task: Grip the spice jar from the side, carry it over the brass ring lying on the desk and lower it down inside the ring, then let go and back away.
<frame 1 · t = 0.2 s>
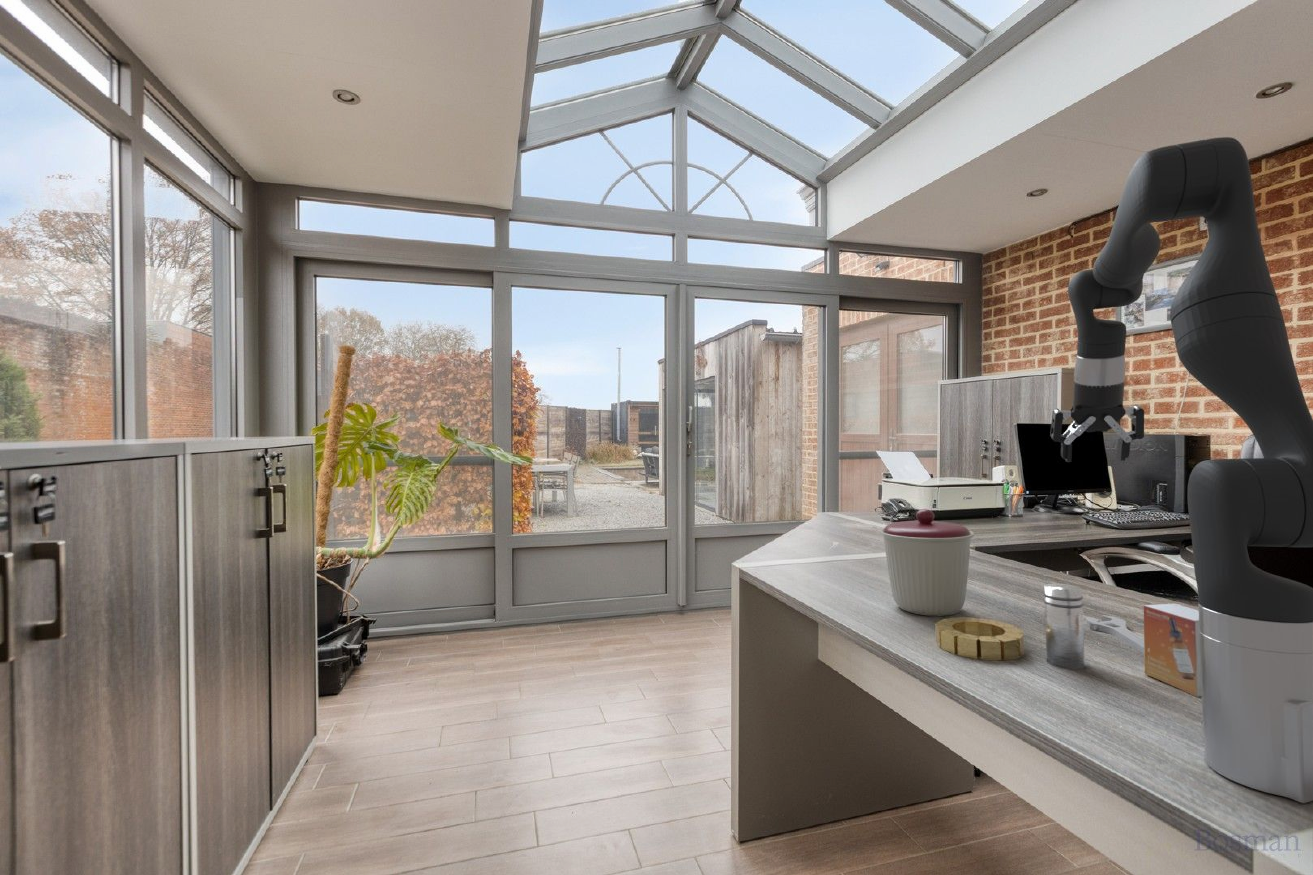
hand: (1094, 460, 115), 31 cm above the table, tool tilted 20°, fingers open, 8 cm apart
adjustable wrench: (1129, 646, 103), on the table
small box: (1187, 685, 85), on the table
spice jar: (1065, 663, 95), on the table
canister: (928, 610, 126), on the table
ring: (978, 646, 103), on the table
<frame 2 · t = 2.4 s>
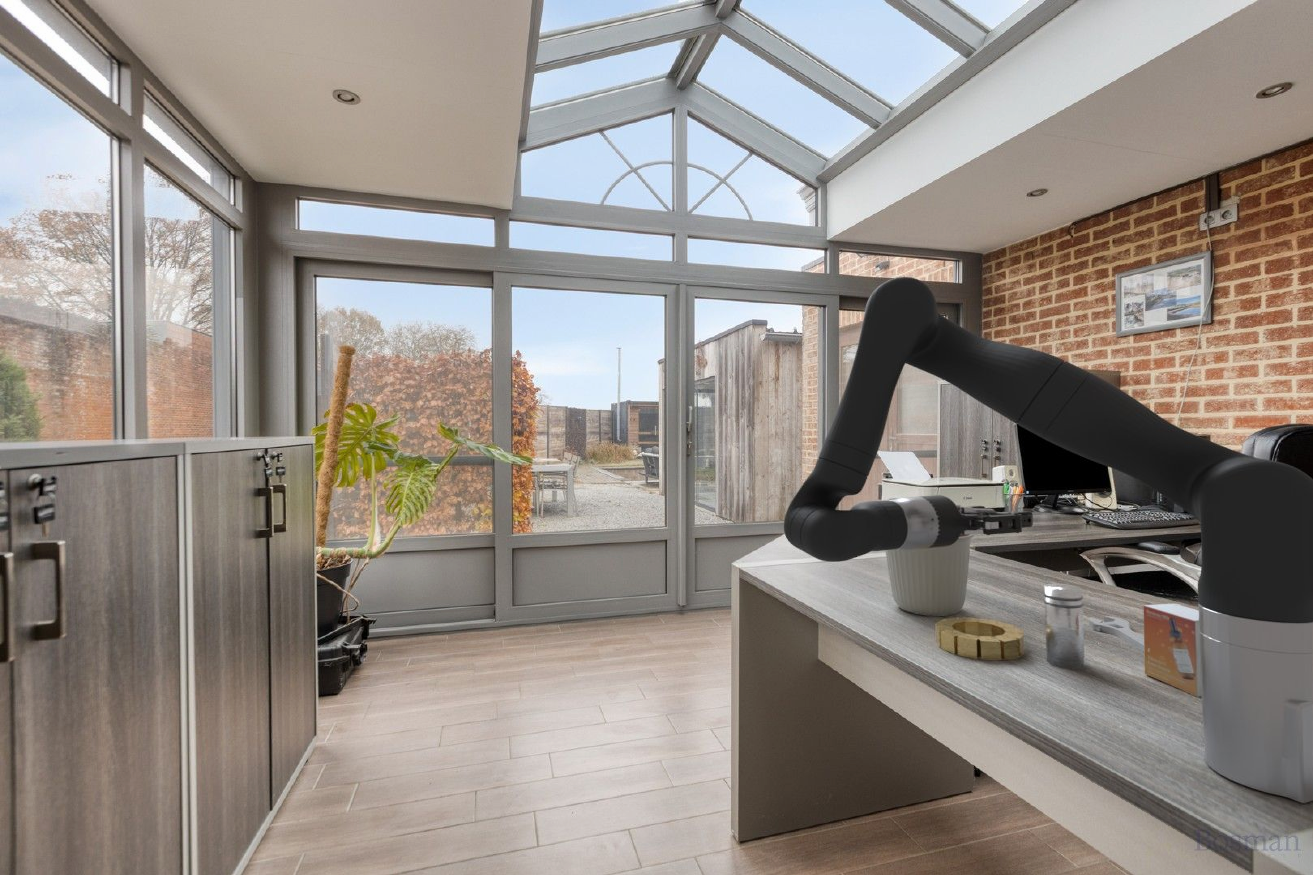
hand: (1006, 515, 92), 24 cm above the table, tool horizontal, fingers open, 8 cm apart
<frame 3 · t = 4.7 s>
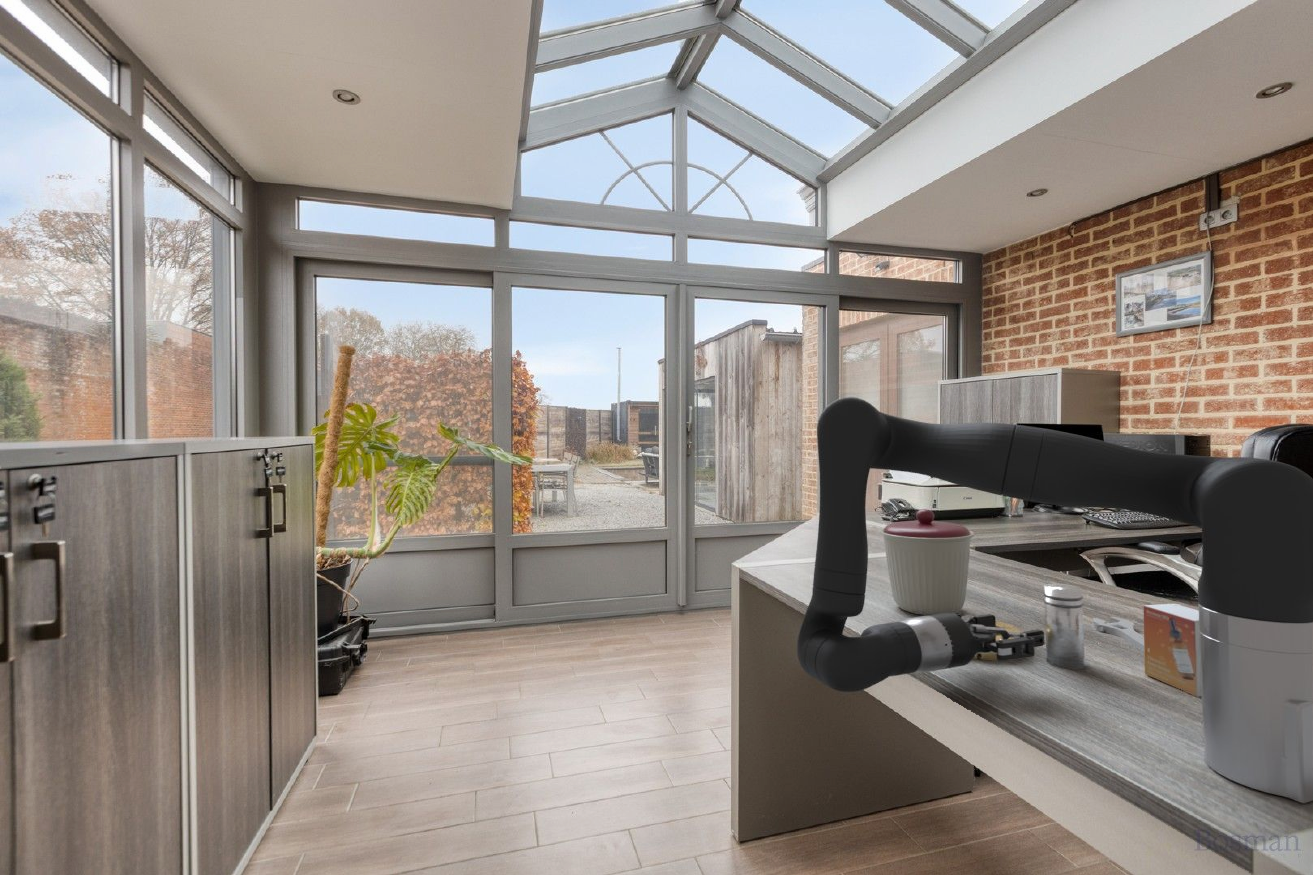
hand: (1016, 628, 92), 7 cm above the table, tool horizontal, fingers open, 8 cm apart
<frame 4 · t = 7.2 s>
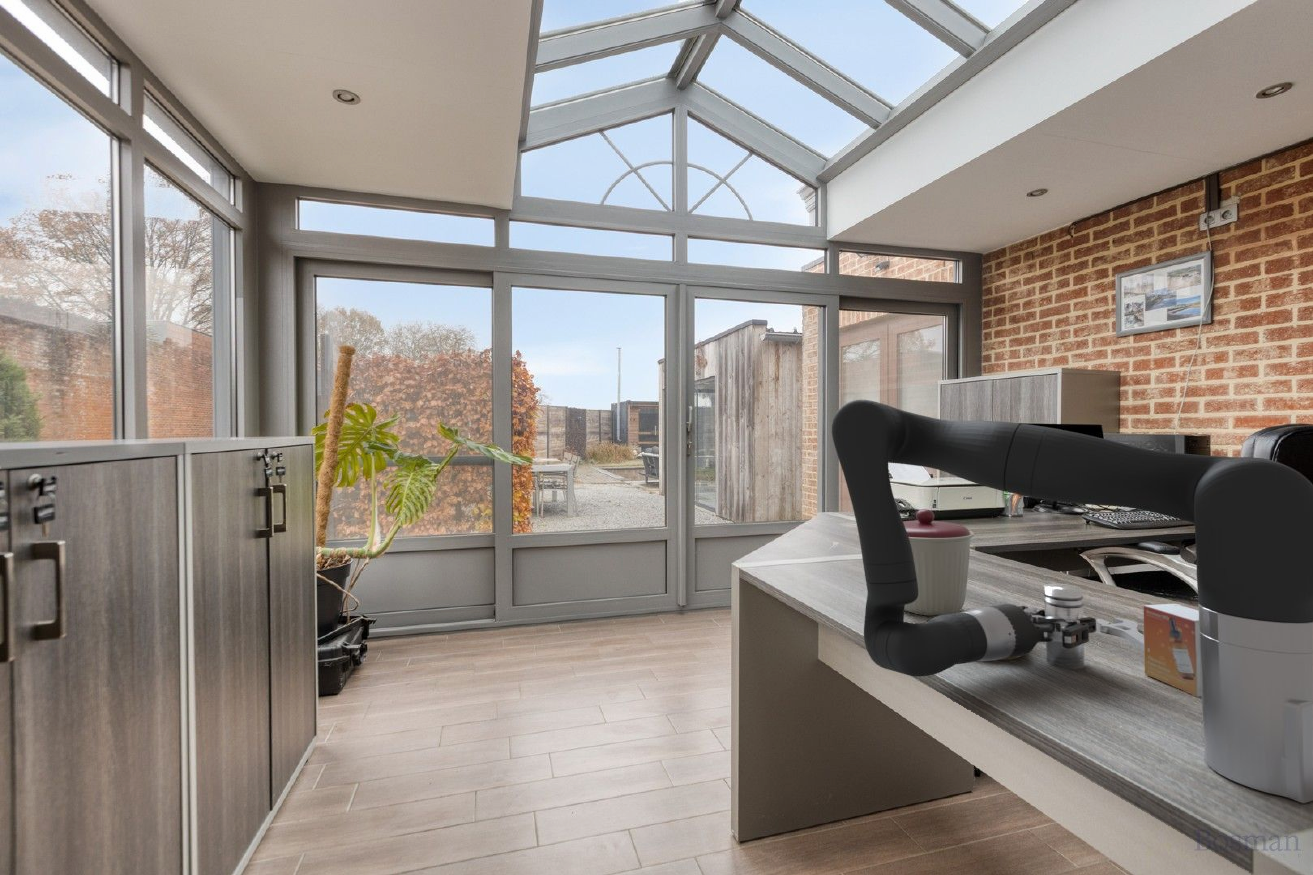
hand: (1075, 619, 95), 7 cm above the table, tool horizontal, fingers closed on spice jar, 5 cm apart
spice jar: (1065, 663, 95), on the table, touching gripper
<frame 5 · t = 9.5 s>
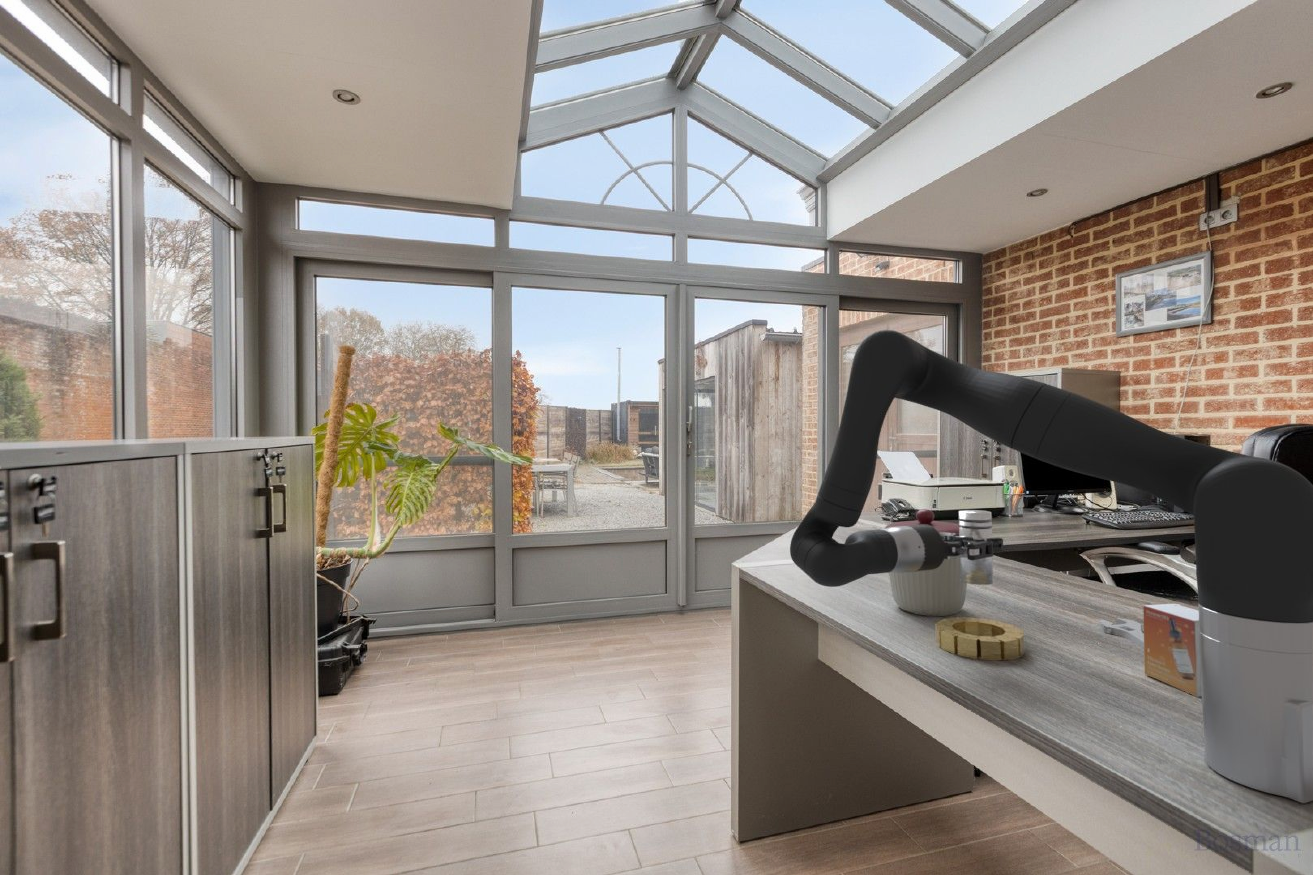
hand: (987, 541, 104), 18 cm above the table, tool horizontal, fingers closed on spice jar, 5 cm apart
spice jar: (976, 581, 103), point 11 cm above the table, touching gripper
when the fingers open (8 cm above the table, at t = 11.8 s): spice jar drops 1 cm, resting in ring.
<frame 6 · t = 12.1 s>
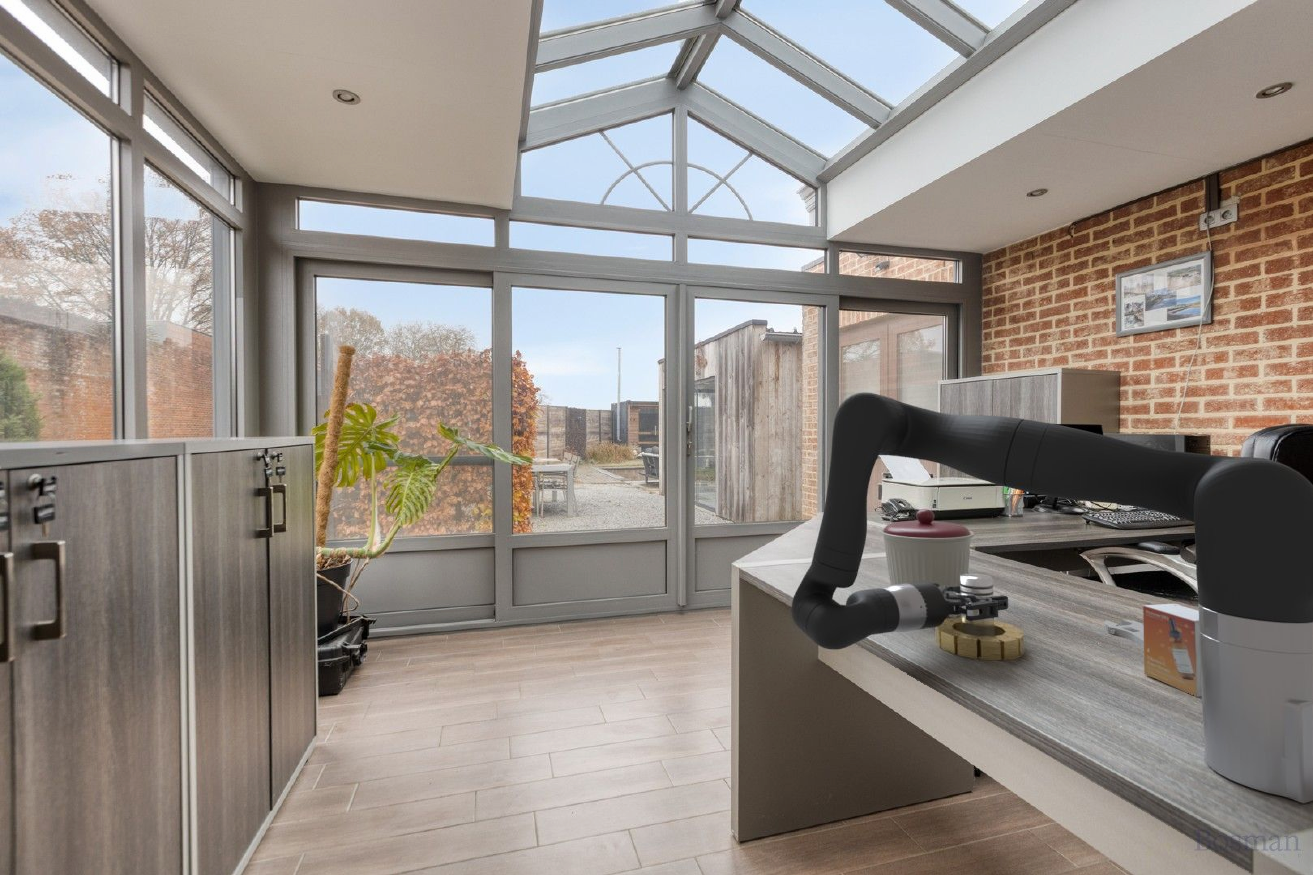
hand: (986, 596, 104), 8 cm above the table, tool horizontal, fingers open, 7 cm apart
spice jar: (978, 646, 103), resting in ring
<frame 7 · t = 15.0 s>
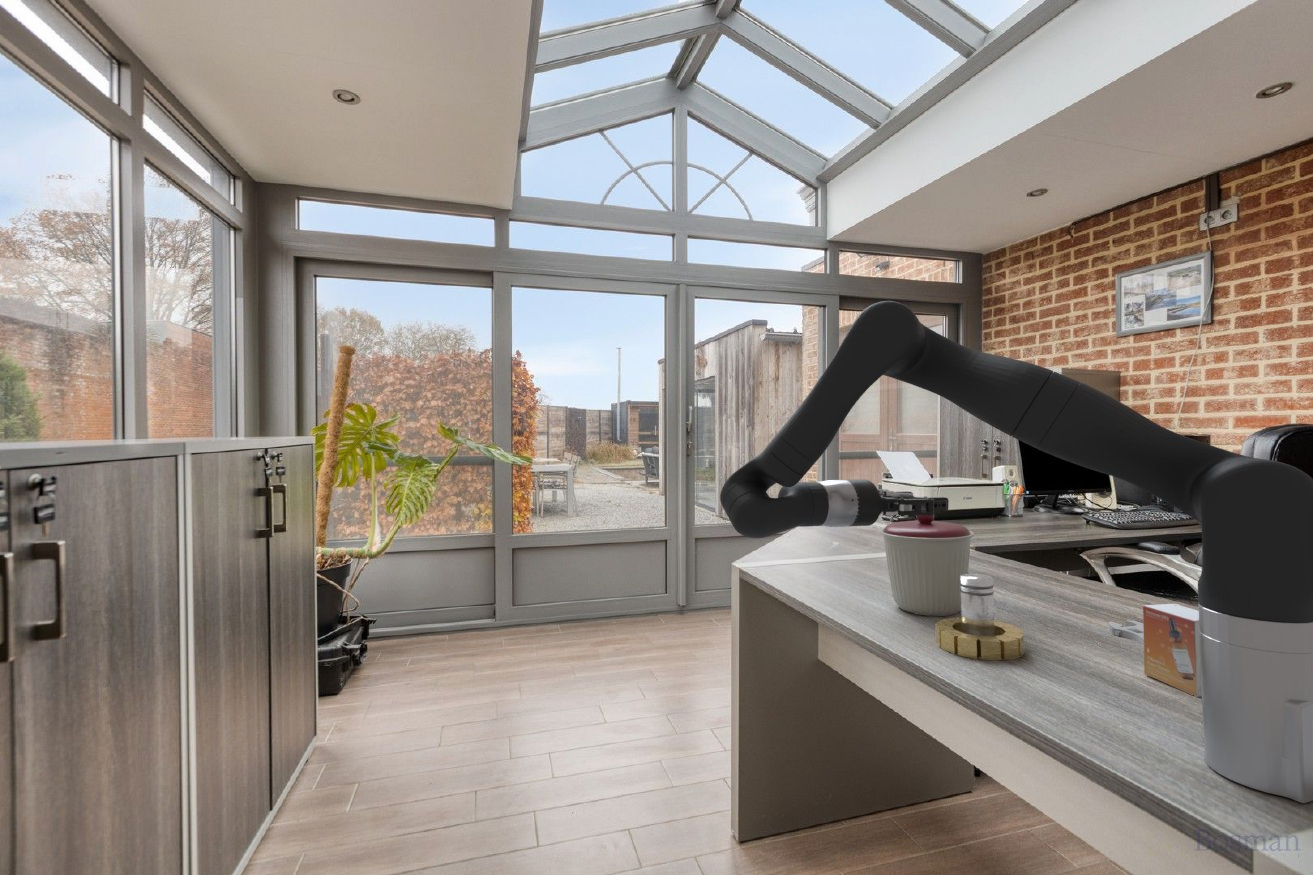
hand: (928, 500, 100), 26 cm above the table, tool horizontal, fingers open, 8 cm apart
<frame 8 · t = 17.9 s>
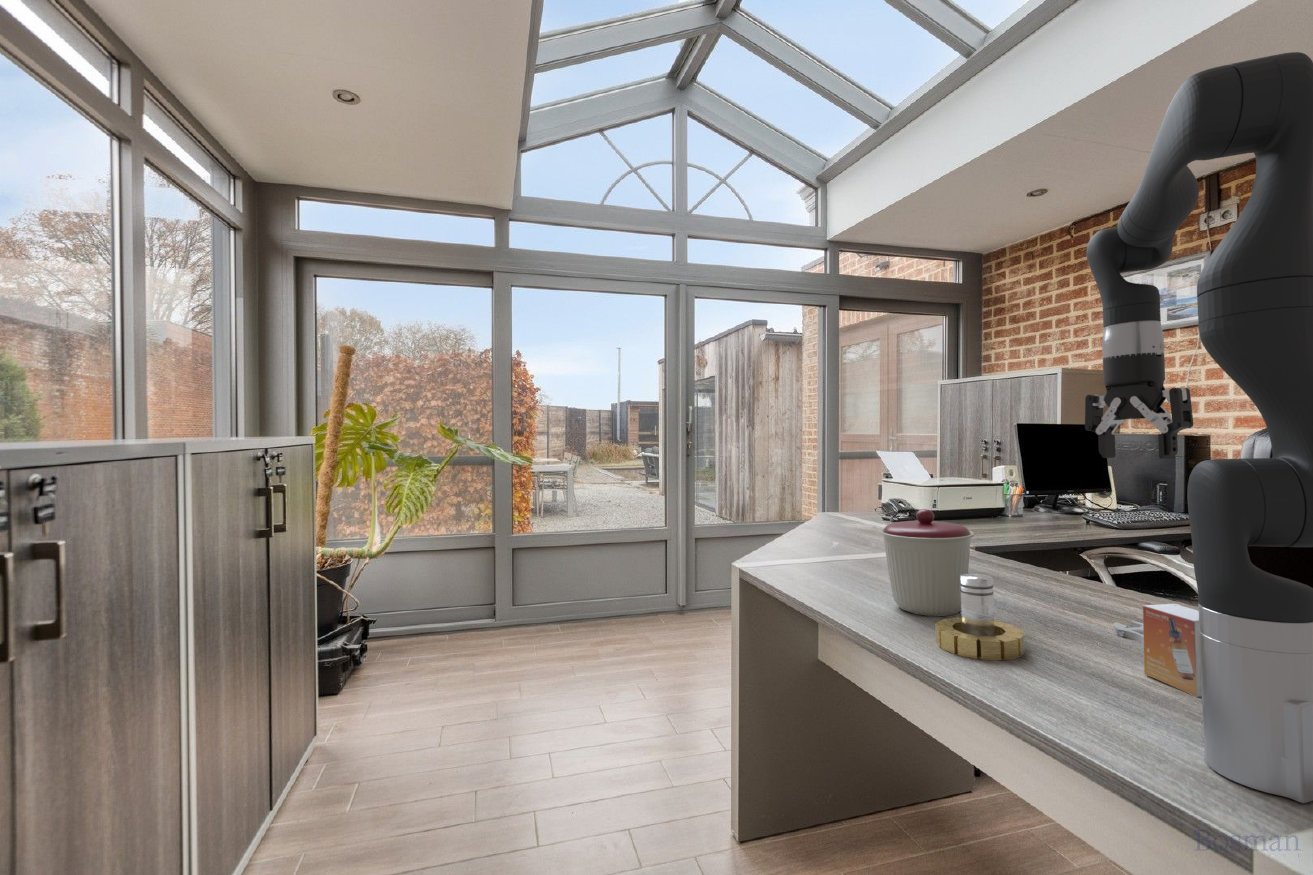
hand: (1136, 458, 93), 32 cm above the table, tool pointing down, fingers open, 8 cm apart
at the end: spice jar 0.1 cm off-centre on the ring, point 0.0 cm above the ring's base; spice jar tilted 0°; the gripper is holding nothing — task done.
